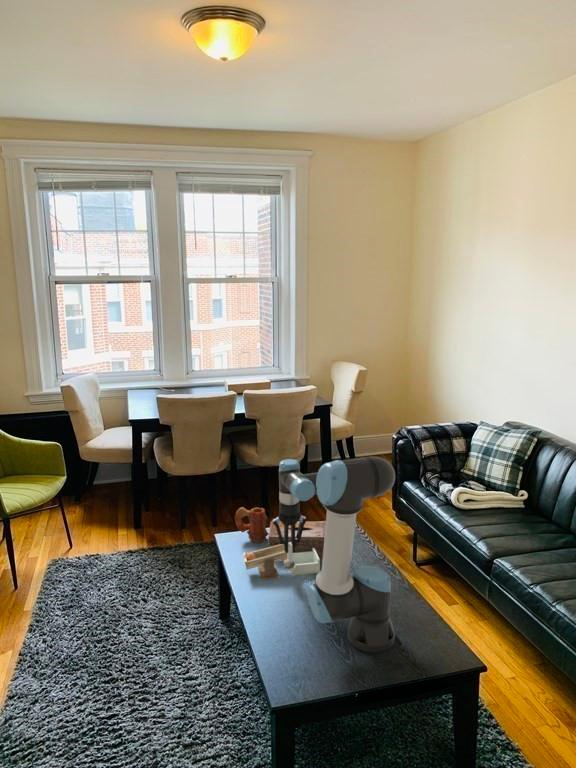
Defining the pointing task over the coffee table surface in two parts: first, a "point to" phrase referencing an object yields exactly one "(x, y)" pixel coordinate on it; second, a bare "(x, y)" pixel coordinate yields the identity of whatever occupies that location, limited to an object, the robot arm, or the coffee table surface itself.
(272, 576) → the fulcrum
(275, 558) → the lever
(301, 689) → the coffee table surface
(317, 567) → the bin
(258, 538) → the mug
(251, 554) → the ball
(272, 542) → the tissue box cover
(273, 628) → the coffee table surface
